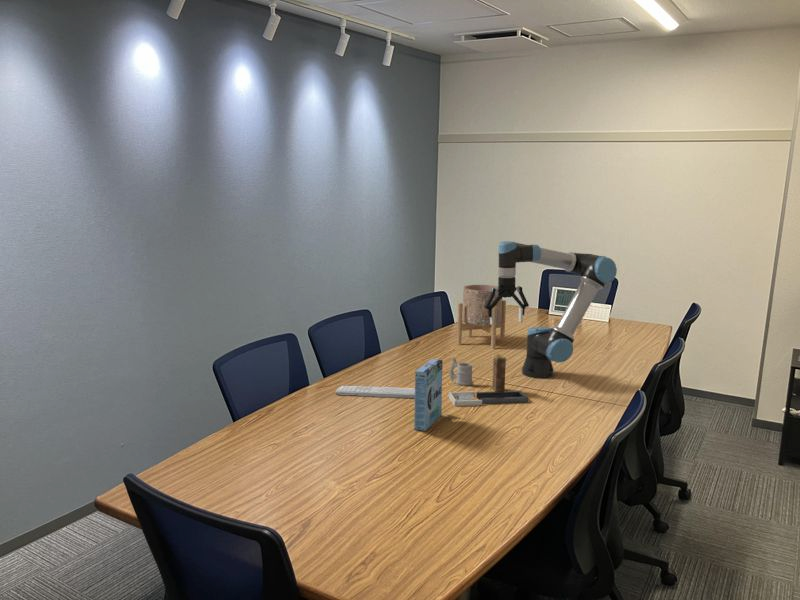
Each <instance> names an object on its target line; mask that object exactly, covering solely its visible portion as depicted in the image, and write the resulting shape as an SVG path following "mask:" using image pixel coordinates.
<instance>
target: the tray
mask: <svg viewBox="0 0 800 600" xmlns="http://www.w3.org/2000/svg"><path fill="white" fill-rule="evenodd" d="M463 392H464V391H448V394H447V395H448V398H449V400H450V401H451V403H452V404H453V406H454V407H463V406H464V407H469V406H483V404H482V400H479V399H473V400H462V401H457V393H463ZM466 392H471V393H472V395H473V397H476V392H475V391H474V390H471V391H466Z"/></svg>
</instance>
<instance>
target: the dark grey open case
mask: <svg viewBox="0 0 800 600" xmlns="http://www.w3.org/2000/svg"><path fill="white" fill-rule="evenodd" d="M475 397H476V399H477V400H482V405H493V404H494V405H495V404H500V405H501V404H517V403H518V404H520V403H521V404H522V403H523V404H524V403H527V404H528V403H529V396H528V395H526V394H525V393H524V392H523V391H522V390H504V391H496V392H495V391H477V392H475Z"/></svg>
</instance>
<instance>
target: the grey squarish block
mask: <svg viewBox="0 0 800 600" xmlns="http://www.w3.org/2000/svg"><path fill="white" fill-rule="evenodd" d="M462 392H463V393H457V397H456V401H462V400H466V395H465V393H464V392H465V391H462Z"/></svg>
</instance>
